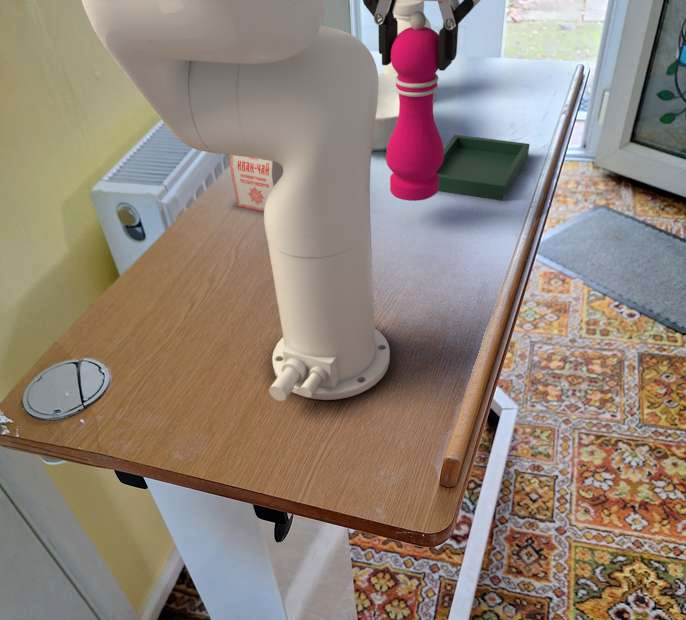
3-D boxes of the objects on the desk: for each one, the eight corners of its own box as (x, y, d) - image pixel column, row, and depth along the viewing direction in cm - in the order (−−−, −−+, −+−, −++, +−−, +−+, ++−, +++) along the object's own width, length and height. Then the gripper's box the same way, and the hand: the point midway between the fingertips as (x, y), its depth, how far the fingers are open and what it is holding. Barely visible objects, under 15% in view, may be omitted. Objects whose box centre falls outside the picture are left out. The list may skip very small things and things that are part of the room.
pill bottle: (430, 106, 116) (433, 4, 104) (383, 109, 116) (382, 8, 105) (427, 88, 121) (430, -10, 110) (382, 91, 121) (381, -7, 110)
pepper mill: (438, 204, 84) (448, 21, 70) (382, 202, 86) (379, 21, 71) (444, 178, 89) (454, 1, 74) (391, 176, 90) (390, 2, 76)
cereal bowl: (313, 160, 105) (309, 113, 99) (343, 116, 115) (341, 71, 110) (420, 168, 101) (421, 119, 95) (441, 122, 111) (443, 75, 106)
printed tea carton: (251, 194, 99) (239, 124, 91) (290, 202, 96) (281, 130, 89) (237, 205, 97) (224, 135, 89) (277, 214, 94) (267, 142, 87)
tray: (502, 200, 93) (504, 186, 91) (423, 188, 96) (424, 174, 95) (527, 157, 101) (529, 143, 99) (453, 148, 104) (454, 134, 103)
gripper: (322, -140, 64) (334, 68, 77) (500, -143, 58) (480, 82, 71) (354, -151, 68) (361, 47, 81) (522, -155, 63) (500, 59, 76)
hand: (417, 62), depth 76 cm, fingers closed on pepper mill, 6 cm apart
